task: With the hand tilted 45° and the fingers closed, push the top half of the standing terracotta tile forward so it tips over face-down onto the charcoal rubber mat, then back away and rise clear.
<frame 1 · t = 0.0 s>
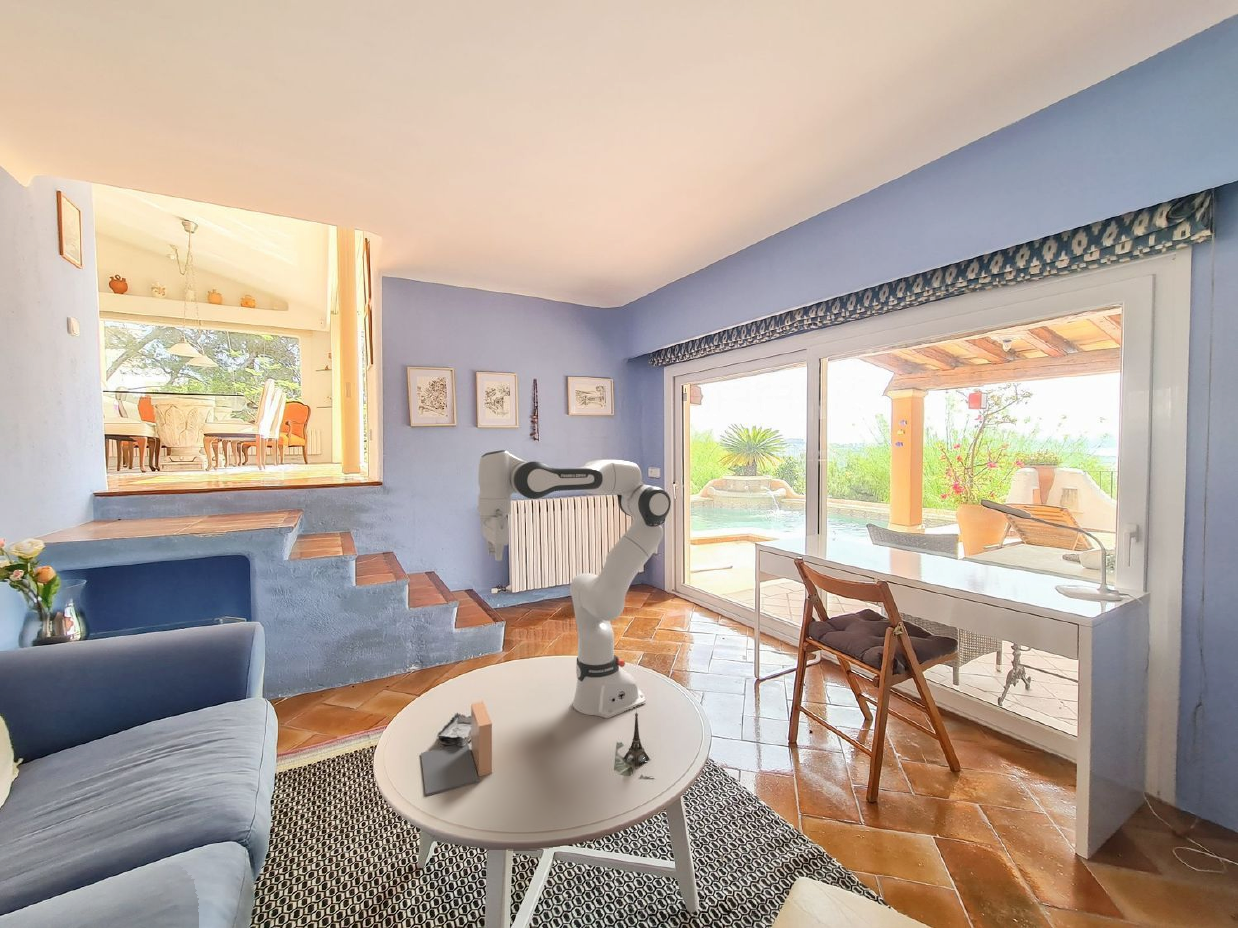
hand: (494, 557, 138), 48 cm above the table, tool pointing down, fingers open, 8 cm apart
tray: (461, 734, 134), on the table, touching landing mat
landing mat: (448, 767, 120), on the table
terracotta tile: (481, 760, 123), on the table
eiffel tower figurine: (634, 762, 123), on the table
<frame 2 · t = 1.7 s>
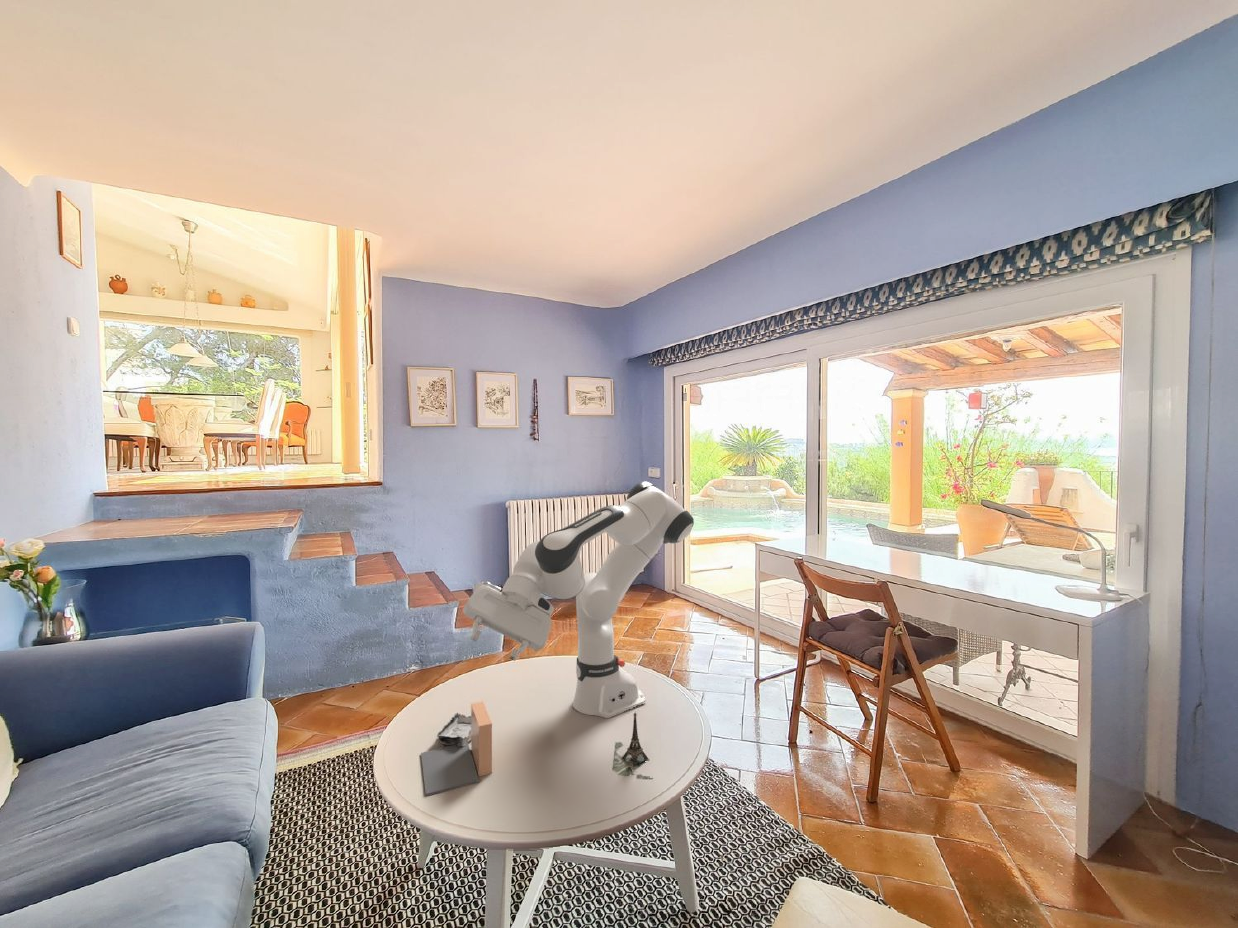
hand: (493, 649, 107), 34 cm above the table, tool tilted 55°, fingers open, 8 cm apart
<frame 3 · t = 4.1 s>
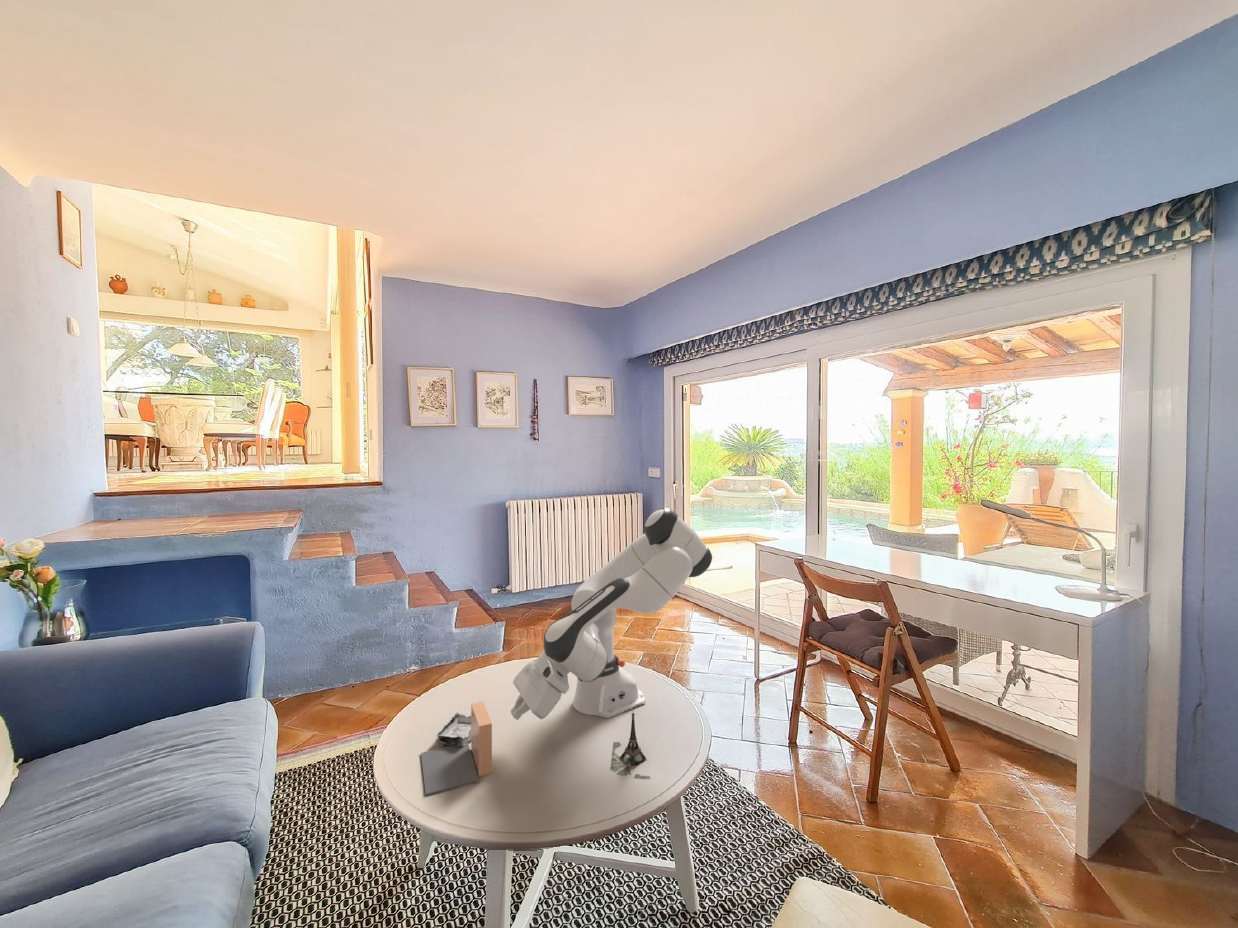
hand: (513, 715, 124), 10 cm above the table, tool tilted 45°, fingers closed
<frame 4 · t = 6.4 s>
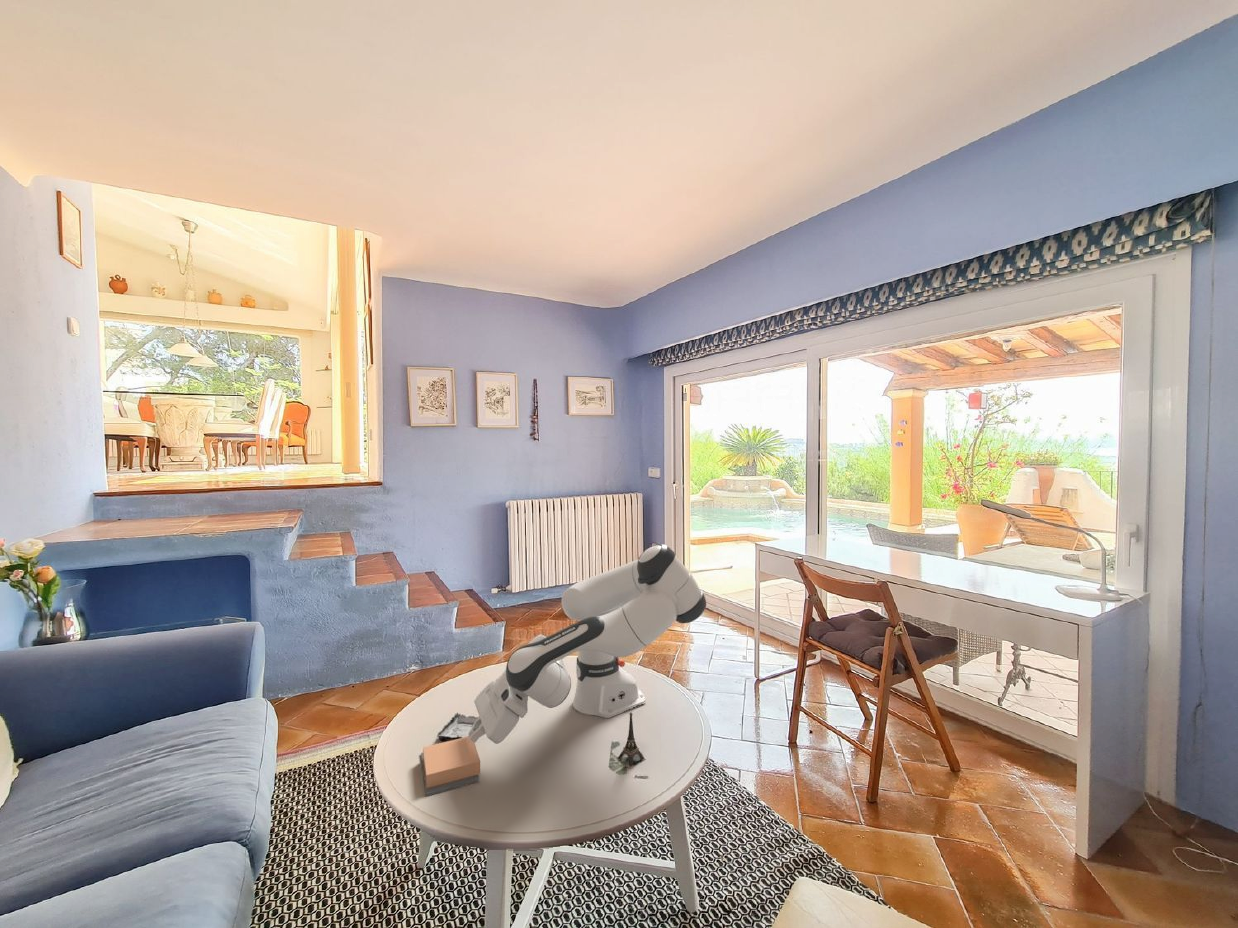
hand: (471, 738, 122), 6 cm above the table, tool tilted 45°, fingers closed
terracotta tile: (476, 753, 122), point 2 cm above the table, tilted 90°, touching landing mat
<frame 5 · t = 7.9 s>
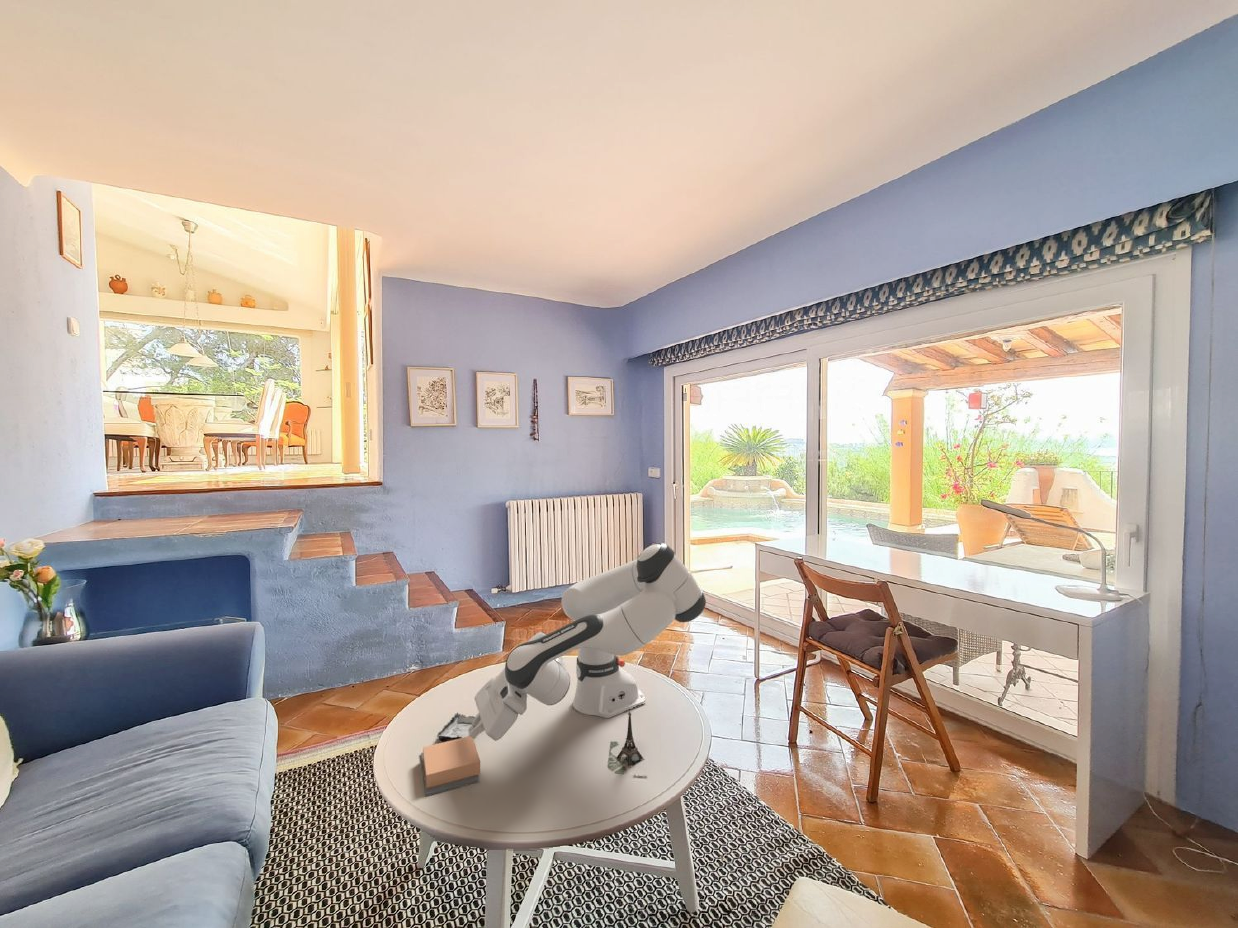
hand: (470, 734, 122), 7 cm above the table, tool tilted 45°, fingers closed
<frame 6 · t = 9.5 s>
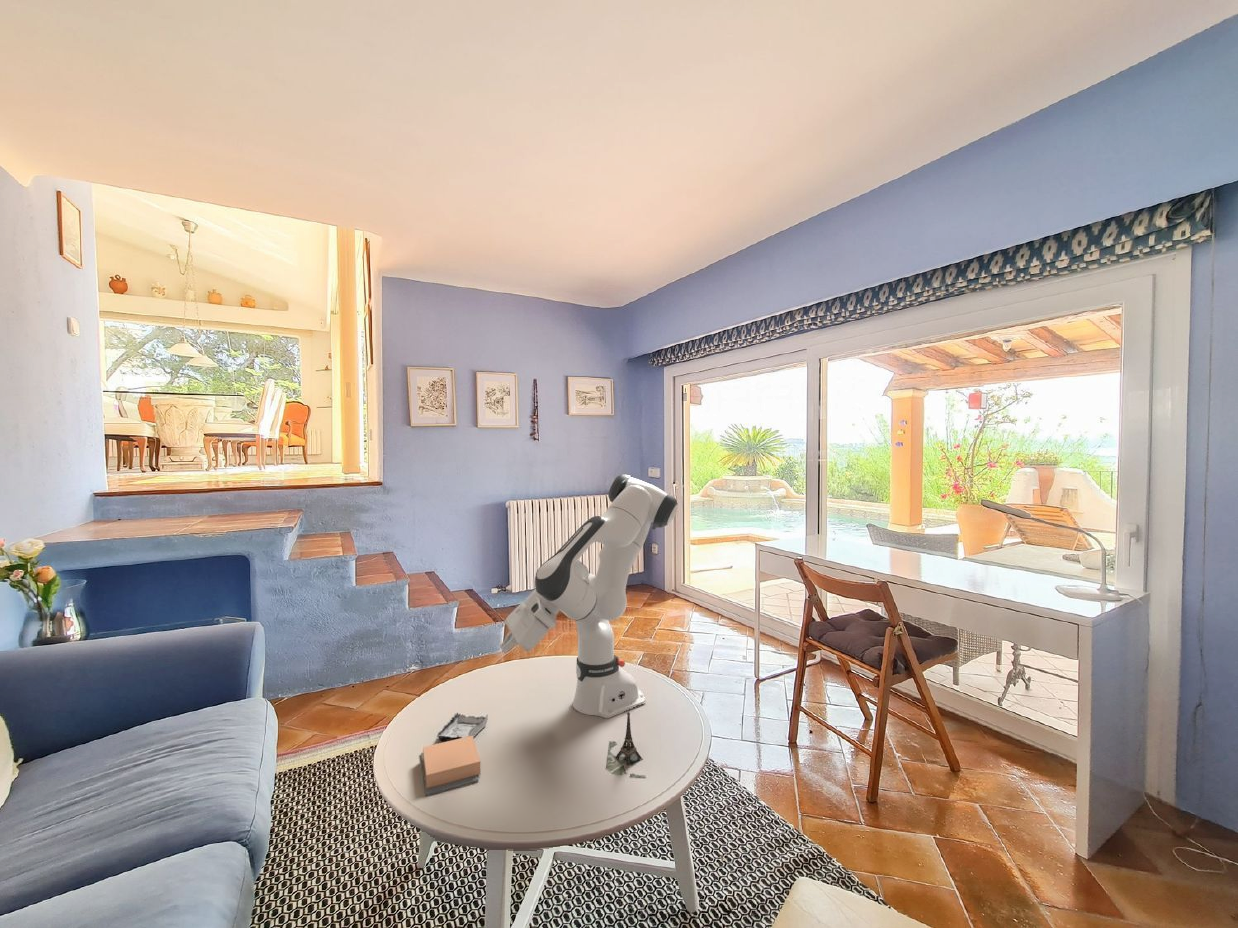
hand: (502, 650, 128), 26 cm above the table, tool tilted 45°, fingers closed
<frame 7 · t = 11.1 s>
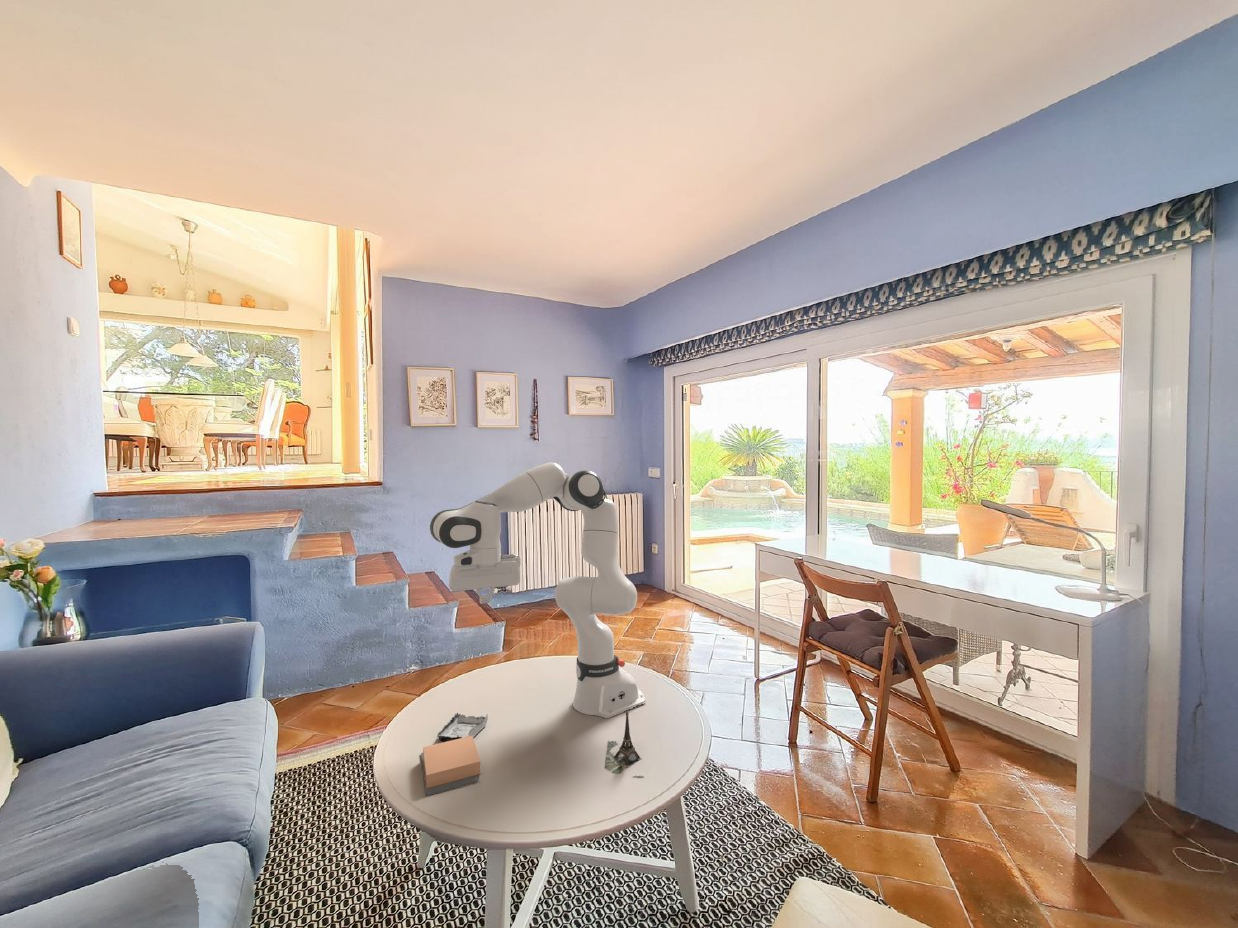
hand: (485, 602, 145), 33 cm above the table, tool pointing down, fingers closed
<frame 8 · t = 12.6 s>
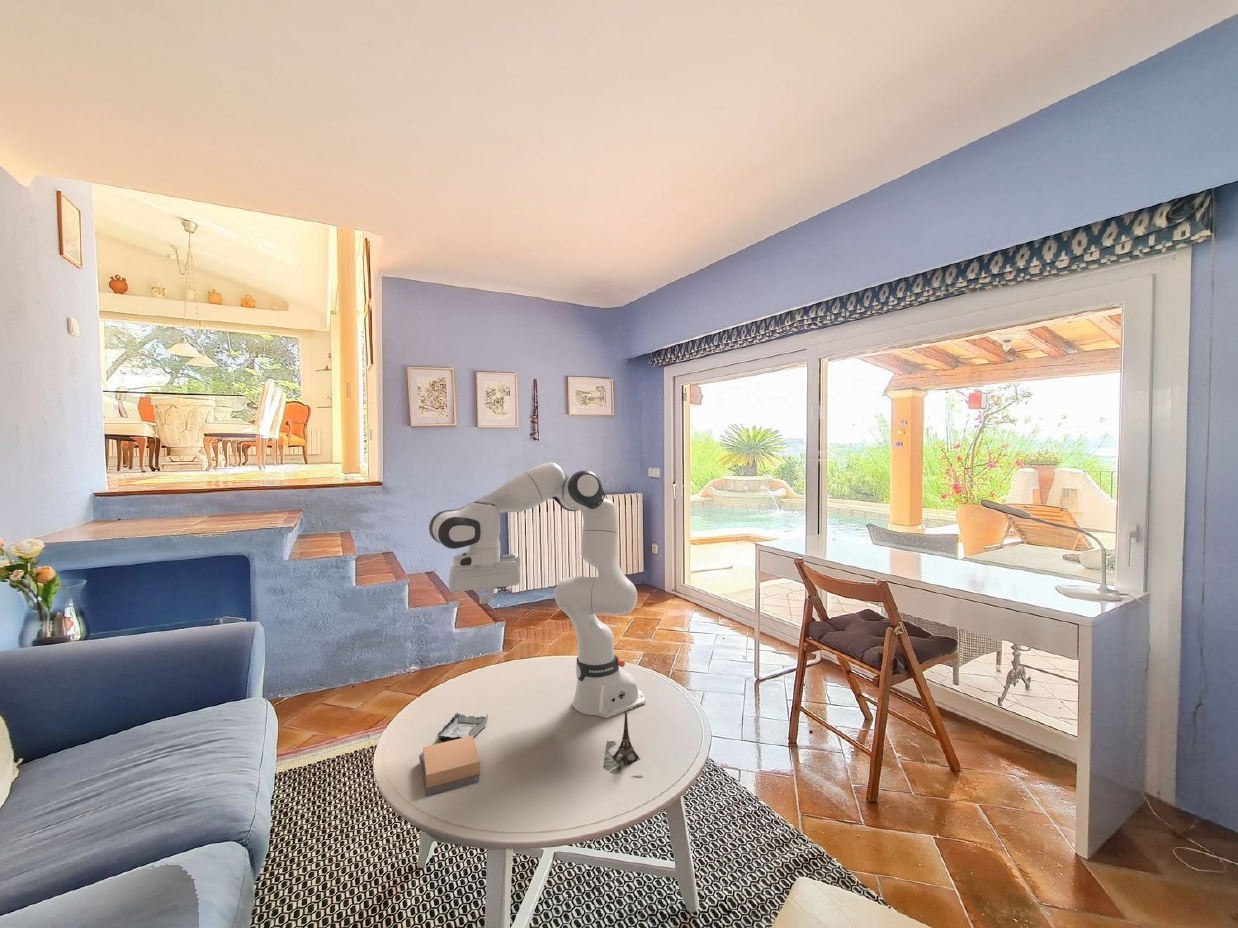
hand: (485, 603, 145), 33 cm above the table, tool pointing down, fingers closed
at the end: terracotta tile tilted 90°; terracotta tile touching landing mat; the gripper is holding nothing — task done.
